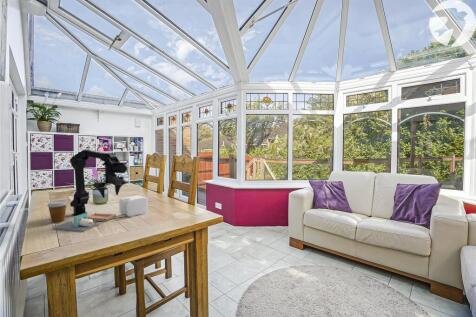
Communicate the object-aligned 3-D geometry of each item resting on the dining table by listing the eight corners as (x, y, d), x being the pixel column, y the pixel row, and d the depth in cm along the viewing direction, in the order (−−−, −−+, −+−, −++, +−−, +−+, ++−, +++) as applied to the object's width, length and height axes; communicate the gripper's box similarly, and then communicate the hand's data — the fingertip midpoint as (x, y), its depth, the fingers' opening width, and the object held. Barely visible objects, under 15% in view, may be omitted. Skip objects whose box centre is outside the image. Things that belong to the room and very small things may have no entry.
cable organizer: (126, 218, 148) (126, 200, 148) (119, 215, 155) (118, 198, 154) (148, 213, 160) (148, 196, 159) (140, 210, 167) (140, 194, 166)
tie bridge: (73, 227, 128) (73, 216, 128) (84, 223, 135) (84, 213, 135) (76, 227, 128) (76, 217, 128) (87, 223, 135) (87, 213, 135)
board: (53, 229, 129) (52, 227, 129) (70, 222, 140) (70, 221, 140) (83, 231, 125) (83, 230, 125) (99, 225, 136) (99, 223, 136)
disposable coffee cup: (46, 224, 136) (45, 204, 135) (50, 220, 144) (49, 201, 144) (66, 222, 140) (65, 202, 140) (69, 218, 149) (68, 199, 148)
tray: (83, 219, 145) (83, 217, 145) (95, 215, 154) (95, 212, 154) (105, 221, 142) (105, 218, 142) (116, 217, 151) (116, 214, 151)
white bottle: (72, 226, 131) (72, 219, 131) (78, 224, 135) (78, 217, 135) (88, 227, 128) (89, 220, 128) (94, 225, 132) (94, 218, 132)
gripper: (104, 175, 138) (104, 200, 138) (131, 171, 154) (131, 195, 155) (92, 173, 142) (93, 198, 143) (120, 170, 159) (120, 193, 160)
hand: (110, 196), depth 150 cm, fingers open, 9 cm apart
